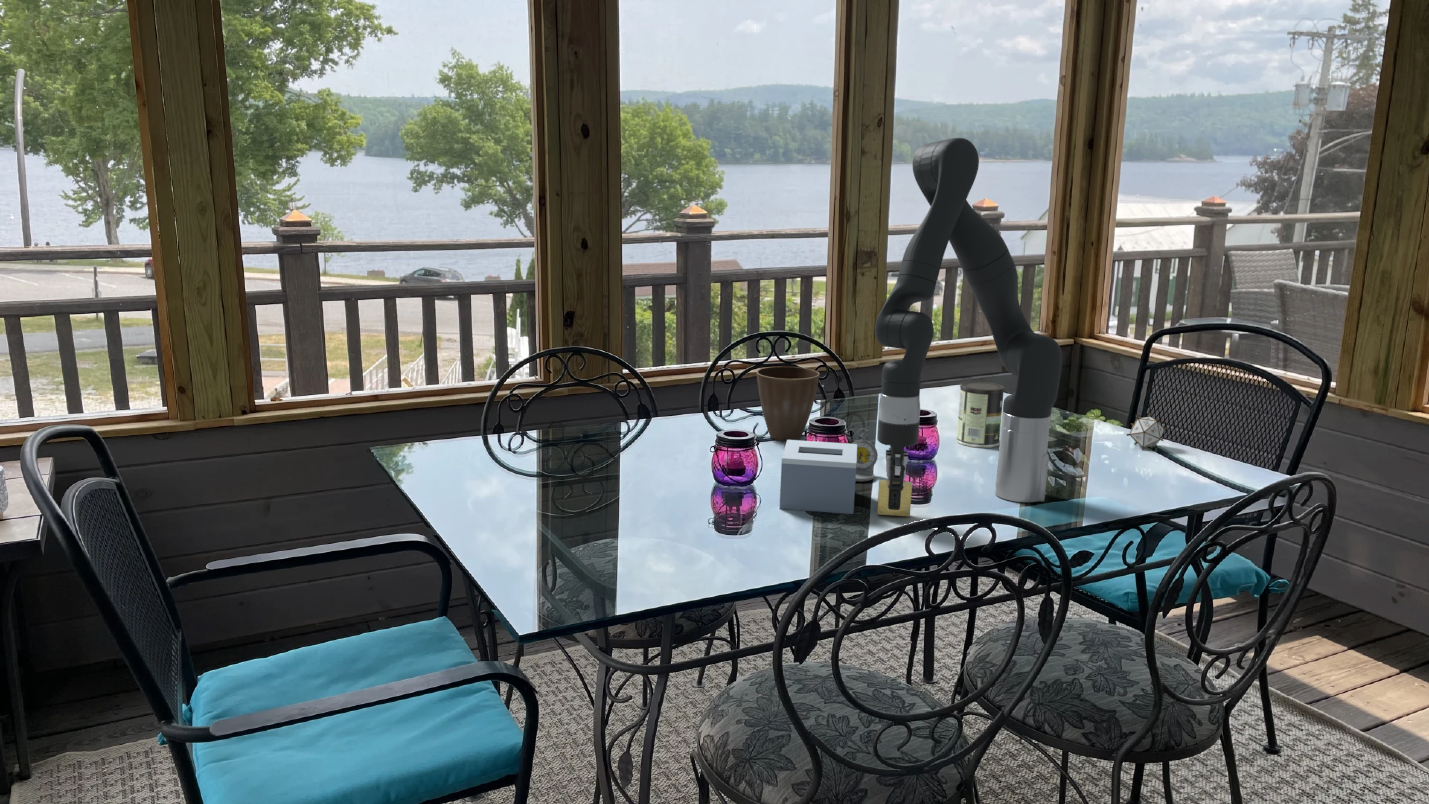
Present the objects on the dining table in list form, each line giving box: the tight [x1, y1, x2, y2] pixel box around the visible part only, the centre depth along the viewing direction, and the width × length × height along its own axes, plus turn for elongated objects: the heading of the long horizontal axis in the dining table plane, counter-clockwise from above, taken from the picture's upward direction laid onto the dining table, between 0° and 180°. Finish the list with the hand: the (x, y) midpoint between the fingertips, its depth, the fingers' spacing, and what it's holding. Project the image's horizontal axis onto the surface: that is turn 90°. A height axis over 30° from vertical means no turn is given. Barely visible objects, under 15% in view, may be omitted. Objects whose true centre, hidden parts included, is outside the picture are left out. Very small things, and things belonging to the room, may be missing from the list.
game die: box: [1125, 413, 1168, 451], centre depth 254 cm, size 9×8×10 cm
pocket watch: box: [850, 427, 878, 483], centre depth 223 cm, size 8×8×10 cm
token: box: [876, 479, 913, 517], centre depth 199 cm, size 6×2×6 cm, turn 83°
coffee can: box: [955, 380, 1005, 449], centre depth 253 cm, size 10×10×14 cm
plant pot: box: [756, 366, 820, 442], centre depth 252 cm, size 15×15×16 cm
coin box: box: [779, 439, 858, 515], centre depth 206 cm, size 14×14×10 cm
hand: (893, 506), depth 199 cm, fingers closed on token, 2 cm apart
